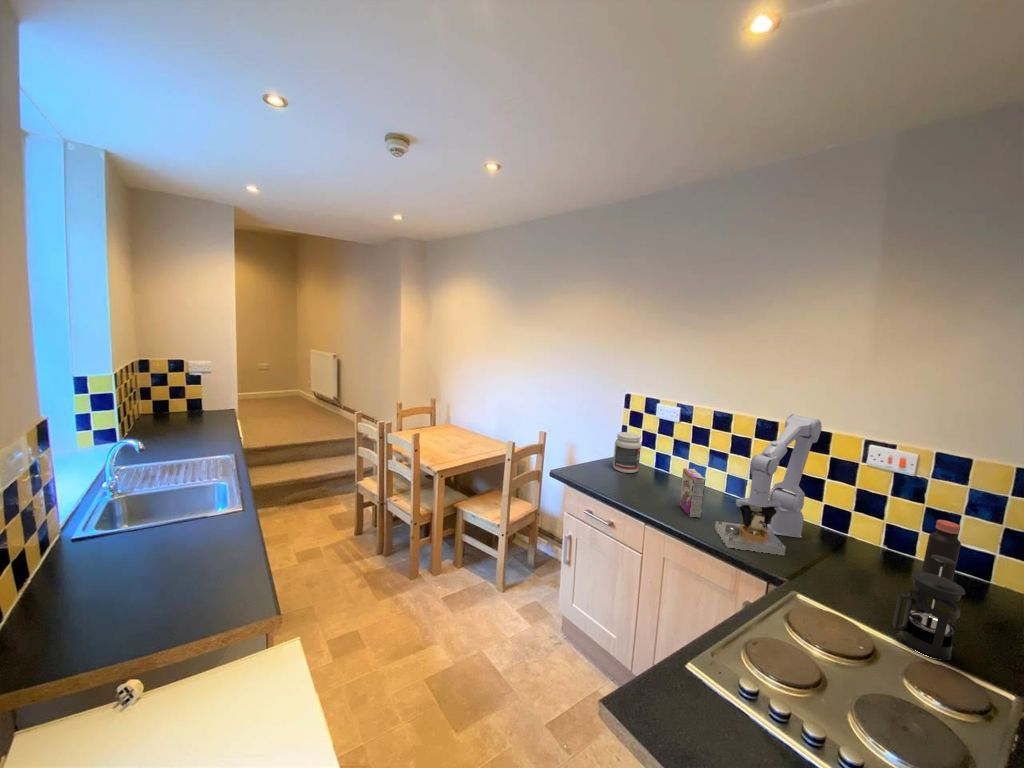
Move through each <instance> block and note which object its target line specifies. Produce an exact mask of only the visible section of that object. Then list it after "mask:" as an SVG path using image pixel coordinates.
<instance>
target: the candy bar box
mask: <svg viewBox="0 0 1024 768" xmlns="http://www.w3.org/2000/svg"><path fill="white" fill-rule="evenodd" d="M682 470H683V471H682V478H681V487H680V488H681V489H680V496H679V504H678V506H679V507H680V508H681V509H682V510H683V512H684V513H685V514H686V515H687V516H688V517H689V518H692V517H697V518H698V519H701V518H702V512H703V511H702V510H703V503H704V502H703V501H704V495H705V494H704V493H705V485H706V478H705V477H704V476H703V475H702V474H700V473H699V472H698V471H697V470H696V469H695V468H682Z"/></svg>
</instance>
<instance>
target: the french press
mask: <svg viewBox="0 0 1024 768" xmlns="http://www.w3.org/2000/svg"><path fill="white" fill-rule="evenodd" d="M931 558H932V559H934V560H936V561H938V562H940V563H939V566H941V567H940V572H939V575H935V574H932V573H928V572H921V571H914V572H912V574H911V575H912V578H913V585H914V587H915V589H910V590H909V591H908V593H907V594H906V593H901V592H899V593H898V596H897V600H896V606H895V609H894V614H893V619H892V626H893V627H894V629H896V630H897V631H899V632H898V633H897V636H898V639H899V641H900V642H901V641H902V642H903V643H902V642H901V643H902V644H904V645H905V646H906V645H907V646H908V647H907V646H906V647H907V648H909V647H910V648H912V649H913V650H916V651H918V652H920V653H922V654H924V655H927V656H929V657H932V658H937V659H941V660H948V661H950V660H951V659H952V650H953V647H954V646H953V639H954V635H955V632H956V627H957V622H958V619H959V618H960V617H961V612H962V611H961V608H960V607H959V606H958V605H957V604H956V603H954V602H959V601H960V600H961V598H962V596H965V594H966V590H965V589H964V588H963V586H962V585H960V584H959V583H957V582H955V581H954V580H953V581H951V580H949V579H947V578H944V577H942V576H941V573H942V568H943V567H945V564H947V565H956V566H957V564H956V563H955V562H954V561H952V560H951V559H948V558H946V557H943V556H939V555H931ZM912 595H913V596H914V595H916V596H917V595H918V596H917V599H916V598H914V597H913V596H912ZM928 598H931V599H932V603H931V607H930V606H927V602H928V601H927V600H928ZM904 599H907V602H906V607H905V611H904V616H903V621H902V622H901V625H899V620H900V616H901V612H902V608H903V603H904ZM936 601H938V602H941V603H942V604H945V605H947V606H948V607H950V608H951V609H952V612H946V611H941V610H938V609H935V603H936ZM913 605H914V606H915V608H914V609H915V610H912V607H913ZM949 620H950V621H949ZM948 622H949V624H948ZM917 636H918V637H921V638H924V639H926V640H928V641H930V642H932V643H930V642H929V643H928V642H927V641H924V640H922V639H920V638H918V637H917ZM910 648H909V649H910ZM912 649H911V650H912ZM913 650H912V651H913Z"/></svg>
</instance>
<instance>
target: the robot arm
mask: <svg viewBox="0 0 1024 768" xmlns="http://www.w3.org/2000/svg"><path fill="white" fill-rule="evenodd" d="M822 427H823V426H822V422H821V420H820V419H818V418H811V417H806V416H801V415H797V414H793V413H790V414H789V415H788V416H787V417H786V418H785V422H784V429H783V430H782V432H781V434H780V435H779V437H778V438H777V440H772V441H771V442H769V444H768V445H767V446H766V447H765V448H764V449H763V451H761V453H760V454H759V453H758V454H755V455H753V457H752V458H751V461H750V468H751V471H750V472H751V475H752V477H751V484H750V491H749V496H748V497H747V498H746V497H745V498H736V499H735V505H736V506H737V507H739V510H740V513H741V515H742V524H744V525H745V526H746V527H749V523H750V517H751V515H752V513H753V511H752V510H753V509H752V508H751V507H755V508H761V511H762V512H763V514H765V521H764V523H766V524H767V526H766V527H767V528H769V529H770V530H771V532H772V533H773V534H774V535H775V536H777V535H778V536H783V537H790V538H791V537H793V538H799V539H800V538H801V539H802V538H803V536H802V532H803V528H804V527H803V526H804V514H803V512H802V510H803V508H804V505H805V497H806V494H805V492H804V491H803V490H802V488H801V487H800V482H801V479H802V476H803V473H804V471H805V466H806V464H807V460H808V457H809V454H810V451H811V448H812V445H813V444H815V443H818V440H819V439H820V435H821V433H822V429H823V428H822ZM792 442H795V443H794V446H793V449H792V451H791V455H790V458H789V461H788V464H787V468H786V471H785V474H784V476H783V477H784V478H783V480H782V481H780V482H777V483H774V485H773V487H772V488H771V485H772V480H773V479H772V478H773V475H774V474H775V473H776V472H777V469H778V466H779V465H780V461H781V460H782V459H783V457H785V455H786V454H787V452H788V448H787V447H788V446H789V445H791V444H792ZM763 527H764V528H766V527H765V526H763Z"/></svg>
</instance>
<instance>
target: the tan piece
mask: <svg viewBox="0 0 1024 768" xmlns="http://www.w3.org/2000/svg"><path fill="white" fill-rule="evenodd" d="M751 510H752V511H753V513H752V515H751V517H750V523H749V527H746V529H745V531H747V532H749V533H751V534H755V535H762V530H763V526H765V527H766V526H767V524H766V523H764V521H765V514H763V512H762V510H761V509H756V508H755V509H751Z"/></svg>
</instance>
